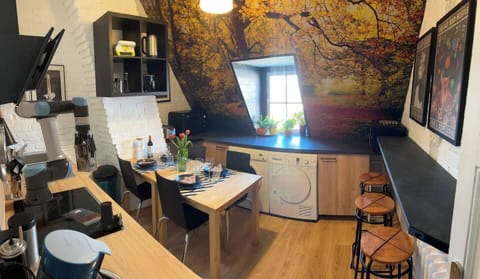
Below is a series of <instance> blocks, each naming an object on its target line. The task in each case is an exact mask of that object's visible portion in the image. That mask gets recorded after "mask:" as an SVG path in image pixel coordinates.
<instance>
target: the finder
mask: <svg viewBox="0 0 480 279" xmlns="http://www.w3.org/2000/svg"><path fill="white" fill-rule="evenodd" d="M80 209H81V208H76V209H73V210H71V211H68V213H69V216H68V217H69V218H70V219H71V218H72V220H73V219H74V220H75V219H76V220H79V218H83V217H84V216H86V213H85V212H84V210H80ZM84 218H85V217H84Z"/></svg>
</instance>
